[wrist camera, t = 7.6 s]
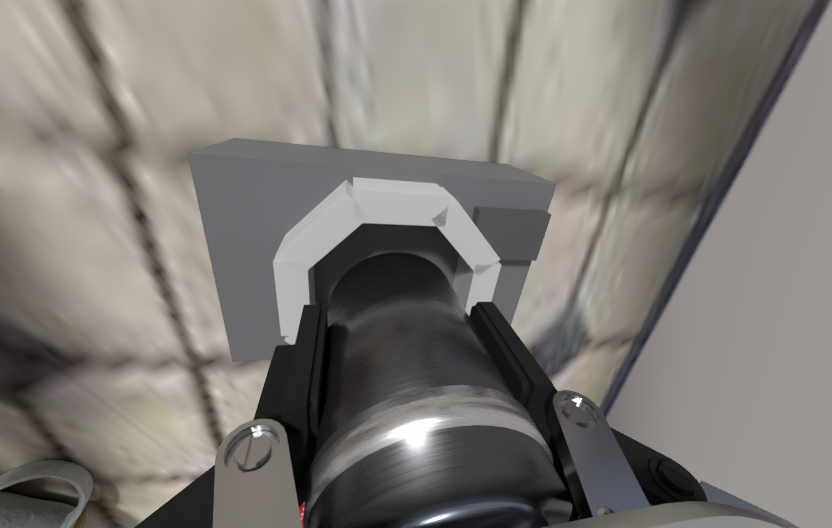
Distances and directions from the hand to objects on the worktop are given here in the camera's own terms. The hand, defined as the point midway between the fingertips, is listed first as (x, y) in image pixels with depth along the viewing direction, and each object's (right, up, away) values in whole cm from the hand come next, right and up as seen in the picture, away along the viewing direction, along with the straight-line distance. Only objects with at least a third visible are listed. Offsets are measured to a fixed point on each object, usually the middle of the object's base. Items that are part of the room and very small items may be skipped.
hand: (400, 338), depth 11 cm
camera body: (-2, +4, +8) cm, 9 cm away
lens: (0, +1, +2) cm, 2 cm away
